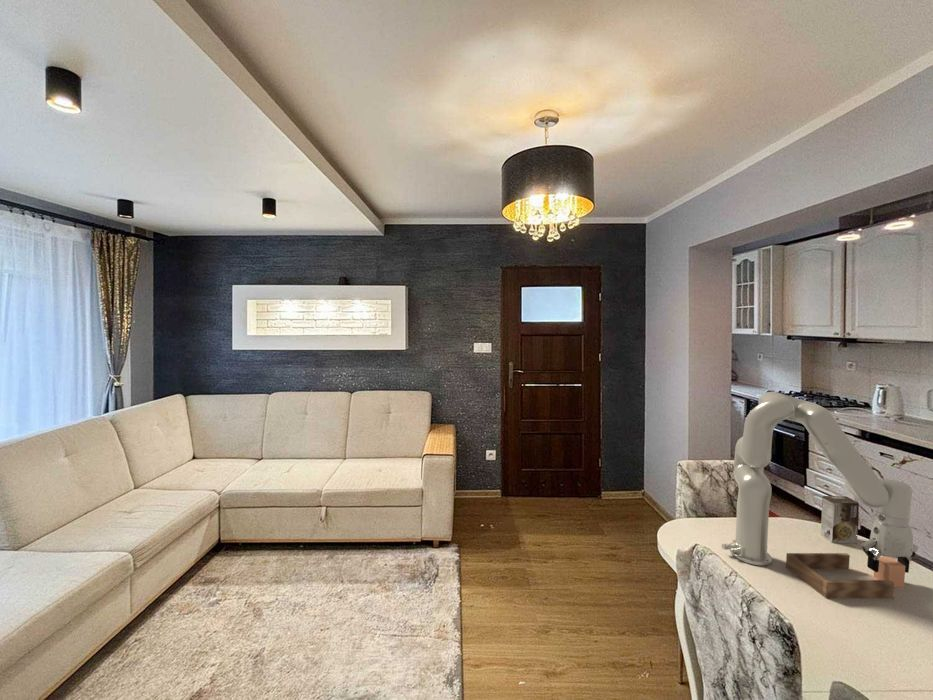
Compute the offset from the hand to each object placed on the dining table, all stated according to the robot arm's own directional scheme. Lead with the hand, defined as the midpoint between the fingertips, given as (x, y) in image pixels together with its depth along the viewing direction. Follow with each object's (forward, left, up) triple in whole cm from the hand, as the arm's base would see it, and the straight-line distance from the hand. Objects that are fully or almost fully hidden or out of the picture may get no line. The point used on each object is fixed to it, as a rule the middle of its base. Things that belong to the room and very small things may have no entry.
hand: (887, 569), depth 138 cm
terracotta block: (0, 0, -4) cm, 4 cm away
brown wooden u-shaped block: (-17, 0, -4) cm, 17 cm away
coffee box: (+7, +27, -4) cm, 28 cm away
